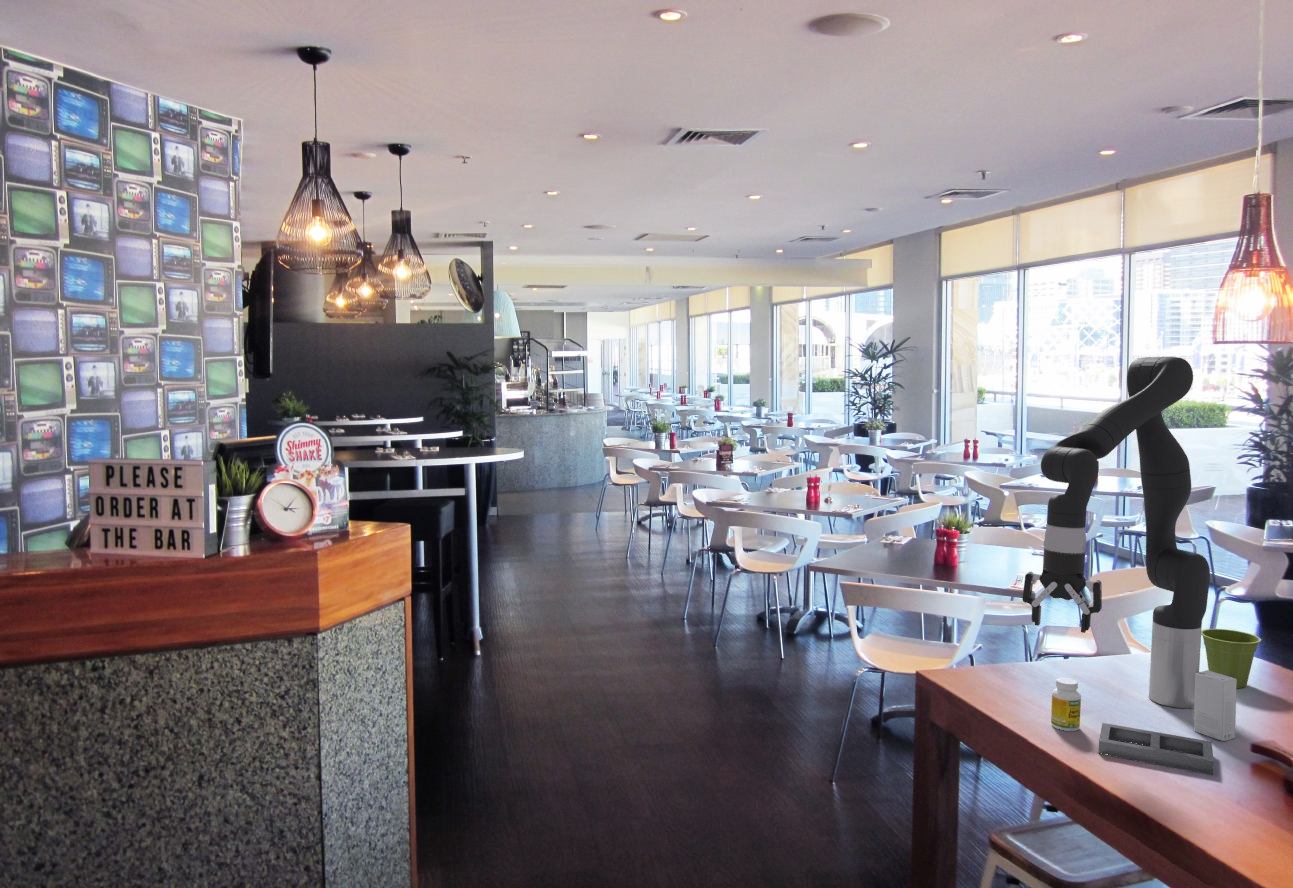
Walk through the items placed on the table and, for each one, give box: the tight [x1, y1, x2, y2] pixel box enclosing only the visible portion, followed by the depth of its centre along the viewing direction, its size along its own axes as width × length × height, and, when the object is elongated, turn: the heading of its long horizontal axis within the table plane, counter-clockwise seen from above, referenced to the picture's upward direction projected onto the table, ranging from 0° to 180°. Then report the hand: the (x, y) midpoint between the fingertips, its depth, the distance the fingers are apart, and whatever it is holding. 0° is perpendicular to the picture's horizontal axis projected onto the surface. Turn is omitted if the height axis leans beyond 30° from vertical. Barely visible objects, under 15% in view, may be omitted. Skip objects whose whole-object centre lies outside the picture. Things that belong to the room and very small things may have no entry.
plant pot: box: [1201, 628, 1262, 689], centre depth 213 cm, size 12×12×11 cm
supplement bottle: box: [1050, 677, 1082, 732], centre depth 188 cm, size 5×5×10 cm
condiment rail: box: [1097, 722, 1214, 776], centre depth 175 cm, size 10×18×2 cm, turn 61°
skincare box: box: [1193, 669, 1237, 742], centre depth 184 cm, size 6×4×12 cm
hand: (1060, 628), depth 186 cm, fingers open, 8 cm apart
